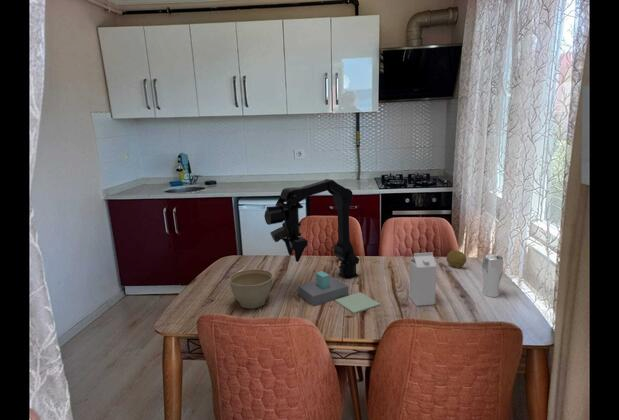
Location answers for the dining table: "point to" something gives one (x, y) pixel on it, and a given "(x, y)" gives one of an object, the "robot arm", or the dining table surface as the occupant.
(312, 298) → the socket block
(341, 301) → the mat
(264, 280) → the planter bowl
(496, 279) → the silver can
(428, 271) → the milk carton
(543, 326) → the dining table surface
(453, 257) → the olive green melon
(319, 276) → the plug
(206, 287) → the dining table surface
